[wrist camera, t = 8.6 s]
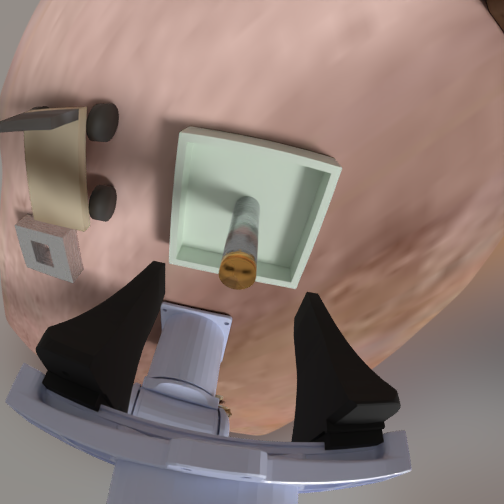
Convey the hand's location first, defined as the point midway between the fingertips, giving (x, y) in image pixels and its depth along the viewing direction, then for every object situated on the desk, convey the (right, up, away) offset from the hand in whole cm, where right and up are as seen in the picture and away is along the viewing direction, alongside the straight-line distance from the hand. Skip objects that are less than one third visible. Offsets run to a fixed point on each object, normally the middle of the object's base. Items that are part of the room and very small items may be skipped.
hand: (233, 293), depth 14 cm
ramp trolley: (-15, +11, +6) cm, 19 cm away
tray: (+1, +6, +8) cm, 10 cm away
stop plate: (-22, +3, +12) cm, 25 cm away
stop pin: (+1, +5, +8) cm, 10 cm away
